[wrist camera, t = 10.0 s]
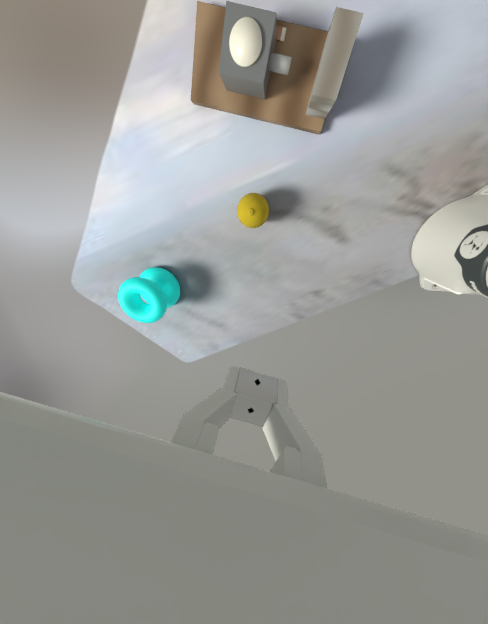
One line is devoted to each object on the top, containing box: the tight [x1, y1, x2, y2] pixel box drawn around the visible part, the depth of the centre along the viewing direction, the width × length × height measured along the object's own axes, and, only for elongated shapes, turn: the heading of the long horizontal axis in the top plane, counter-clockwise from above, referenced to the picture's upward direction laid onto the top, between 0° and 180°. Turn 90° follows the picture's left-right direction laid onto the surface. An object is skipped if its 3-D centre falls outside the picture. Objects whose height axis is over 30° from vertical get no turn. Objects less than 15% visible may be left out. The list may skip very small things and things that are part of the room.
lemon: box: [237, 193, 269, 228], centre depth 37 cm, size 6×6×8 cm
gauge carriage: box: [219, 1, 292, 100], centre depth 28 cm, size 9×8×5 cm
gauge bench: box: [191, 1, 364, 134], centre depth 28 cm, size 21×10×8 cm, turn 78°
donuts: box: [118, 267, 180, 323], centre depth 47 cm, size 10×10×10 cm
